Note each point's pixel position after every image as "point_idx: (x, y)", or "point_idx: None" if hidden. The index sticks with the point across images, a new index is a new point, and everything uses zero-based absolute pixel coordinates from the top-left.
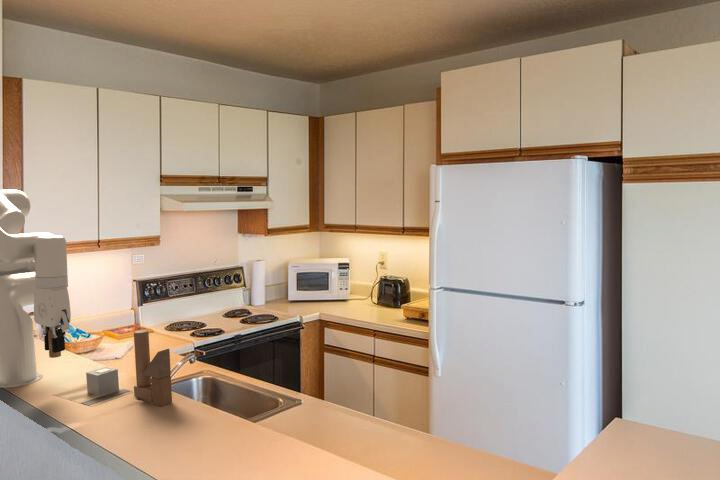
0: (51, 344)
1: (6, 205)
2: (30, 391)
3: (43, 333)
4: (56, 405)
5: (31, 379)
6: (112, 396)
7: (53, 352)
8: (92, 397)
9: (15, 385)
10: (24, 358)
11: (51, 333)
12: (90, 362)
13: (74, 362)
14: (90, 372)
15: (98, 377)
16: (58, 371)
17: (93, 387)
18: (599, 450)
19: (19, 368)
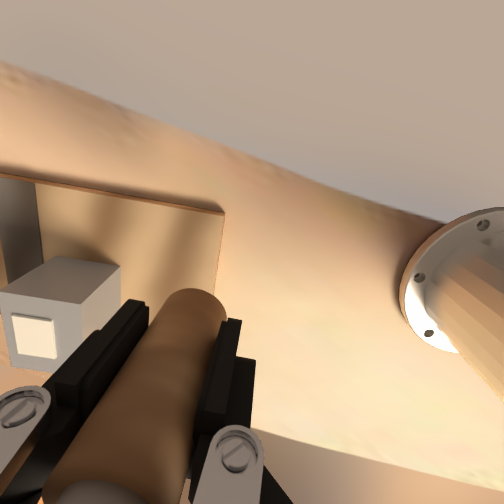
0: (145, 347)
1: None
2: (363, 237)
3: (257, 449)
4: (143, 164)
5: (426, 297)
6: (5, 262)
7: (132, 299)
8: (60, 238)
9: (443, 238)
10: (497, 334)
11: (81, 446)
12: (386, 461)
13: (437, 452)
14: (65, 311)
15: (5, 289)
16: (425, 392)
17: (68, 271)
18: None
19: (481, 290)
